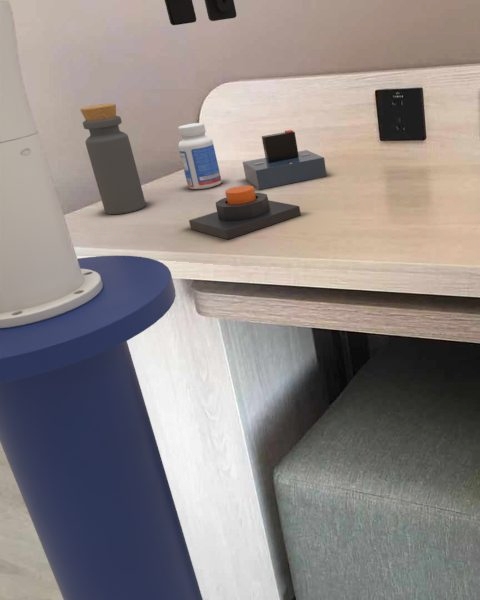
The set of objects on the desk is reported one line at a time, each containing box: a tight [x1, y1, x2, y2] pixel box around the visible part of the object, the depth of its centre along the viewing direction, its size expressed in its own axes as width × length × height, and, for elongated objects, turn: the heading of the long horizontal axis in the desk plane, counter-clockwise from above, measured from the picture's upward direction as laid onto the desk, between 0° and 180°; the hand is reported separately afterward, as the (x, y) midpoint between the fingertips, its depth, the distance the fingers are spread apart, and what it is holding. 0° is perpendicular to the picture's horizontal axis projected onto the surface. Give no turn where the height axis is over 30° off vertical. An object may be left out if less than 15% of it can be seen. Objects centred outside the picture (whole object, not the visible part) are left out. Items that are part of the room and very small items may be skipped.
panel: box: [242, 149, 328, 191], centre depth 109 cm, size 11×9×3 cm
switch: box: [224, 185, 256, 204], centre depth 86 cm, size 4×4×2 cm
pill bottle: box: [177, 122, 222, 190], centre depth 109 cm, size 6×5×10 cm
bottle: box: [79, 102, 147, 215], centre depth 99 cm, size 6×6×15 cm
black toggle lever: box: [261, 129, 299, 163], centre depth 108 cm, size 5×2×4 cm, turn 115°
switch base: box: [188, 192, 301, 240], centre depth 87 cm, size 11×9×3 cm
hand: (202, 21), depth 78 cm, fingers open, 9 cm apart
